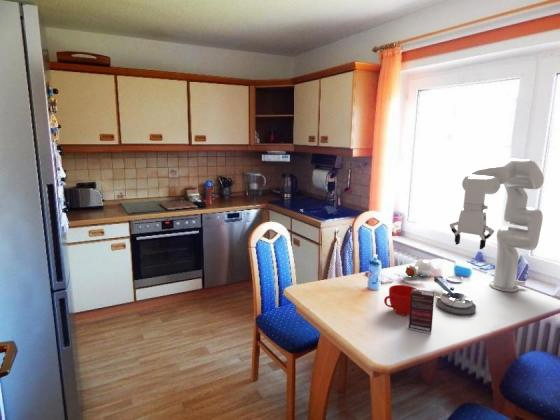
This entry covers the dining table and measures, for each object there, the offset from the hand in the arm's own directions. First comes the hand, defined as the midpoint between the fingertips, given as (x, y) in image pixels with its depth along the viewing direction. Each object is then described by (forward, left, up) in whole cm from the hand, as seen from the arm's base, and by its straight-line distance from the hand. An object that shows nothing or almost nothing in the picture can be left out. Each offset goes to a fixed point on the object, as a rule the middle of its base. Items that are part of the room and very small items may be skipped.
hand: (469, 246), depth 158 cm
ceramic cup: (+29, +3, -30) cm, 42 cm away
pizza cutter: (+2, -11, -28) cm, 30 cm away
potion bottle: (+5, -41, -30) cm, 51 cm away
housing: (+2, -3, -30) cm, 30 cm away
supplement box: (+25, +17, -30) cm, 42 cm away
